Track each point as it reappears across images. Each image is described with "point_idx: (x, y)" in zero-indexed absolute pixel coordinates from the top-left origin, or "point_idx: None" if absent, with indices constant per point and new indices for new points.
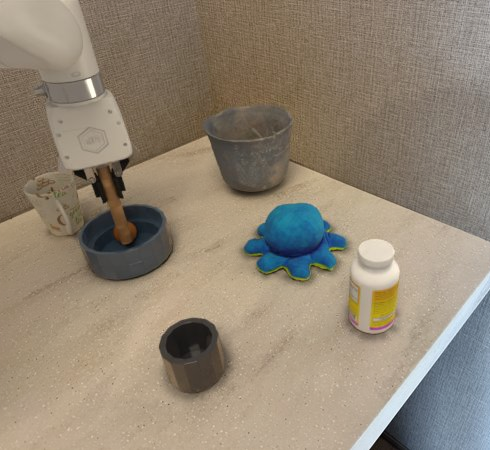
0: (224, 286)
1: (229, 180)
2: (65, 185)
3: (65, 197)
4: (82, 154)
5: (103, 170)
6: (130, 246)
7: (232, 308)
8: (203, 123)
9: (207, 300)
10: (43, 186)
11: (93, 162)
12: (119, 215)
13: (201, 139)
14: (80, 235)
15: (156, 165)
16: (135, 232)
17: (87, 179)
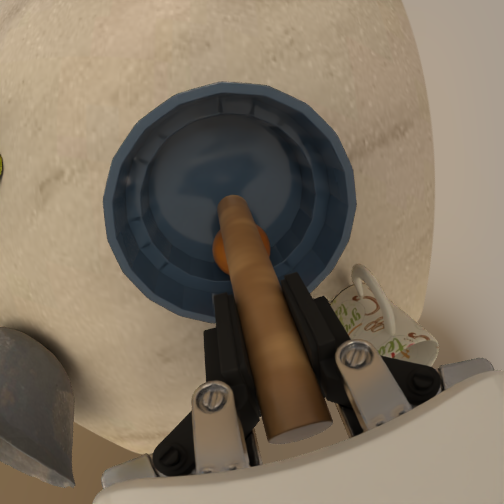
0: (37, 62)
1: (34, 357)
2: None
3: (375, 344)
4: (463, 500)
5: (295, 413)
6: None
7: (38, 14)
8: (70, 481)
9: (69, 25)
10: None
11: (378, 464)
12: (240, 244)
13: None
14: (350, 209)
15: None
16: (214, 241)
17: (378, 353)
